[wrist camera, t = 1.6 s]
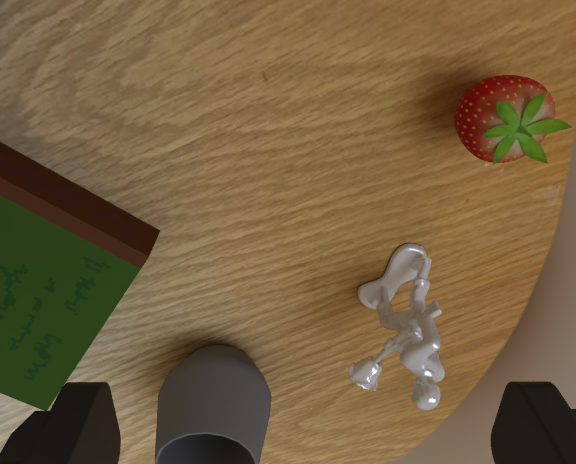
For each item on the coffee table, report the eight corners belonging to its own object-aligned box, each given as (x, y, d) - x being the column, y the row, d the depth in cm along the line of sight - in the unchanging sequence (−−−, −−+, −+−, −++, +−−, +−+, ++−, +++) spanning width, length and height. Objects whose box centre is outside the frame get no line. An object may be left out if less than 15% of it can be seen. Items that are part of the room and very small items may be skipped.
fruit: (461, 152, 35) (508, 199, 28) (424, 96, 33) (465, 130, 26) (530, 106, 33) (598, 143, 26) (496, 43, 31) (560, 65, 24)
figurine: (443, 254, 39) (504, 361, 28) (382, 334, 43) (417, 454, 32) (392, 232, 38) (437, 334, 27) (335, 316, 42) (355, 434, 31)
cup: (150, 378, 45) (119, 479, 36) (199, 311, 41) (179, 404, 32) (237, 417, 47) (229, 519, 39) (291, 357, 44) (295, 454, 35)
